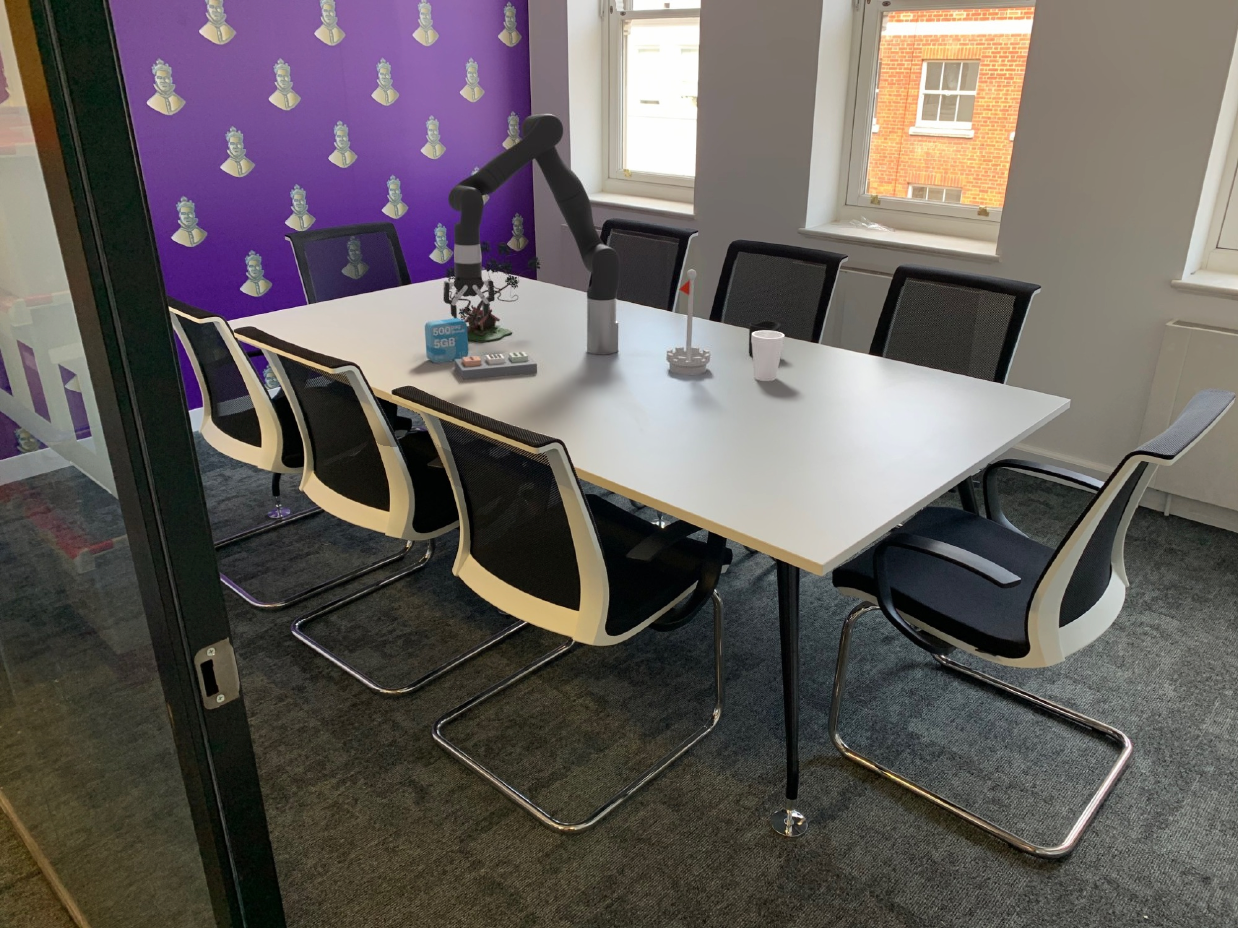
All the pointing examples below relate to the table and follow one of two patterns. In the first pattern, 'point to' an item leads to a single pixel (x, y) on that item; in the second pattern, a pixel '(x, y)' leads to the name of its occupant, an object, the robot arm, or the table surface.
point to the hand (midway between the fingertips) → (469, 317)
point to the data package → (446, 340)
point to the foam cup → (766, 353)
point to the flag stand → (688, 341)
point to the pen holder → (759, 327)
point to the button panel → (495, 369)
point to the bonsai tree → (485, 326)
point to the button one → (471, 361)
